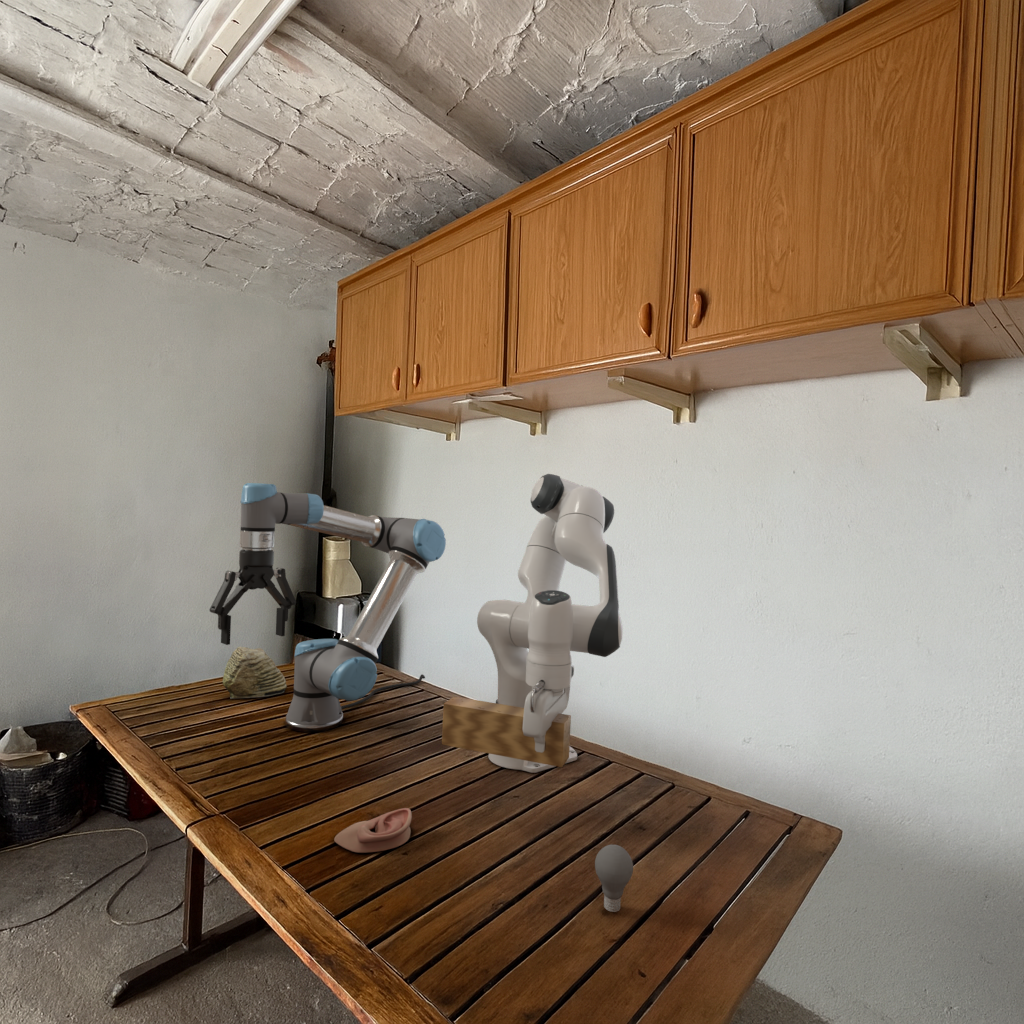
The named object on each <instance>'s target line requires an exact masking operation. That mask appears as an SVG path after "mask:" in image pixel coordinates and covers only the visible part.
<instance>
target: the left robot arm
mask: <svg viewBox="0 0 1024 1024" xmlns="http://www.w3.org/2000/svg"><path fill="white" fill-rule="evenodd" d="M278 524H279V525H280V524H282V525H287V526H291V527H292V526H293V527H296V528H301V529H304V530H308V531H313V532H317V533H322V534H326V535H331V536H335V537H338V538H344V539H348V540H352V541H357V542H360V543H361V544H362V545H363V546H364V547H367V548H371V549H374V550H378V551H381V552H383V553H385V554H388V556H389V562H388V564H387V565H386V567H385V569H384V571H383V572H382V574H381V575H380V577H379V579H378V581H377V583H376V585H375V587H374V589H373V590H372V591H371V594H370V596H369V598H368V599H367V601H366V602H365V605H364V606H363V608H362V610H361V611H360V613H359V615H358V616H357V619H356V621H355V622H354V624H353V625H352V627H351V629H350V631H349V632H348V635H346V636H344V637H343V636H342V637H340V638H339V639H337V638H318V639H308V640H304V641H300V642H299V643H297V644H296V646H295V650H294V655H293V657H294V672H293V673H294V674H293V695H292V696H293V697H292V699H291V702H290V704H289V708H288V711H287V713H286V715H285V726H286V728H287V729H289V730H291V731H294V732H295V731H296V732H301V733H316V732H325V731H329V730H332V729H335V728H337V727H339V726H340V725H342V723H343V722H344V713H343V710H345V709H349V708H353V707H356V706H358V705H360V704H364V703H365V702H366V701H368V700H369V699H371V698H372V697H373V696H374V695H375V694H376V693H378V692H381V691H384V690H389V689H395V688H400V687H401V688H402V687H409V686H415V685H419V684H420V683H421V682H422V680H424V679H426V676H425V675H424V674H423V673H422V674H420V676H419V678H418V679H417V680H415V681H410V682H402V683H396V684H390V685H385V686H381V687H378V688H375V689H374V690H373V688H374V686H375V684H376V682H377V679H378V674H377V672H378V669H377V665H376V664H377V662H378V660H379V655H378V651H377V650H378V648H379V646H380V645H381V642H382V641H383V639H384V637H385V635H386V633H387V632H388V629H389V628H390V625H391V624H392V622H393V620H394V619H395V616H396V615H397V612H398V611H399V609H400V607H401V605H402V603H403V602H404V599H405V598H406V596H407V594H408V592H409V590H410V589H411V586H412V584H413V583H414V581H415V579H416V577H417V576H418V575H419V574H421V573H425V571H426V570H427V567H428V566H429V564H430V563H431V562H435V561H438V560H440V558H441V557H442V556H443V555H444V553H445V550H446V545H447V542H446V541H447V540H446V538H445V532H444V531H445V530H444V529H443V528H442V526H441V525H440V524H439V523H438V522H436V521H434V520H430V519H426V518H420V519H419V518H408V517H390V516H389V517H388V516H387V517H386V516H380V515H376V514H370V515H369V516H366V515H362V514H359V513H355V512H350V511H348V510H343V509H341V508H335V507H333V506H328V505H324V501H323V499H322V498H321V496H320V495H318V494H316V493H308V492H306V493H304V492H303V493H302V492H300V493H299V492H279V491H278V489H277V486H276V484H274V483H261V482H260V483H259V482H246V483H244V484H243V486H242V489H241V499H240V531H239V532H240V533H239V547H240V548H241V549H240V551H239V554H238V557H239V558H238V566H239V569H238V571H232V570H226V571H225V572H224V580H223V581H222V583H221V586H220V588H219V589H218V592H217V593H216V596H215V597H214V599H213V602H212V603H211V606H210V608H209V613H212V614H215V615H217V629H218V630H220V644H223V645H225V646H229V645H231V632H232V631H231V630H232V615H231V614H229V613H230V612H231V611H232V609H234V607H235V606H236V604H237V603H238V602H239V600H240V599H241V598H242V597H243V595H244V594H245V593H247V592H248V591H249V590H251V591H252V590H257V589H259V590H263V589H265V590H266V591H267V592H268V594H269V595H270V596H271V597H272V598H273V599H274V601H275V602H276V604H277V605H278V606H279V607H276V617H275V618H276V619H275V635H276V636H280V637H285V636H286V622H288V620H289V610H290V609H291V608H292V606H295V605H296V604H297V600H296V598H295V595H294V594H293V591H292V589H291V586H290V583H289V581H288V579H287V573H286V569H285V568H283V567H276V568H274V563H275V551H274V550H273V549H274V547H275V533H276V525H278ZM273 577H274V578H275V579H276V581H277V584H278V586H279V589H280V591H281V592H280V591H279V589H278V588H277V587H276V584H275V583H274V582H273V580H272V578H273ZM237 580H239V582H238V583H237V584H236V585H235V583H236V581H237ZM234 585H235V589H233V587H234ZM232 589H233V591H232ZM231 591H232V592H231ZM340 700H343V701H348V702H352V703H348V704H344V705H341V702H340ZM353 701H354V702H353Z"/></svg>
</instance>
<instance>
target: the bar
mask: <svg viewBox="0 0 1024 1024" xmlns="http://www.w3.org/2000/svg"><path fill="white" fill-rule="evenodd" d="M442 709H443V711H442V731H441V732H442V733H441V745H443V746H447V747H452V748H459V749H462V750H469V751H473V752H474V751H475V752H479V753H486V754H488V755H489V754H494V755H500V756H505V757H510V758H516V759H521V760H526V761H531V762H537V763H542V764H547V765H553V766H556V767H558V768H563V767H564V766H565V764H567V763H566V761H567V760H568V758H569V747H571V746H570V745H571V728H572V727H571V723H572V715H571V714H564V713H562V714H558V715H557V716H556V717H555V718H554V720H553V721H552V724H551V727H550V728H549V729H548V730H547V731H546V735H545V741H546V749H545V750H544V752H542V753H541V752H536V751H535V740H534V738H533V737H528V736H525V735H524V734H523V716H524V708H522V707H516V706H510V705H503V704H497V703H496V702H490V701H484V700H478V699H472V698H467V697H458V696H453V697H451V698H450V699H448V700H447V701H445V702H444V703H443V707H442Z"/></svg>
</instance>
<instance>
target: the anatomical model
mask: <svg viewBox="0 0 1024 1024" xmlns="http://www.w3.org/2000/svg"><path fill="white" fill-rule="evenodd" d="M412 819H413V813H412V811H411V809H410V808H408V807H404V808H398V809H395V810H392V811H388V812H385V813H384V814H380V815H379V816H377V817H374V818H372V819H369V820H362V821H358V822H354V823H353V824H351V825H348V826H347V827H346V828H344V829H341V831H340V832H338V833H337V834H336V835H335V837H334V839H333V840H334V842H335V843H336V844H337V845H338V846H339V847H341V848H343V849H346V850H348V851H350V852H353V853H359V854H364V853H376V852H383V851H387V850H391V849H395V848H398V847H399V846H402V845H404V844H405V843H406V842H408V841H409V840H410V838H411V833H412V831H411V827H410V825H411V824H412Z"/></svg>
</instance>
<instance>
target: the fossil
mask: <svg viewBox="0 0 1024 1024" xmlns="http://www.w3.org/2000/svg"><path fill="white" fill-rule="evenodd" d="M222 676H223V677H222V685H223V687H224V688H225V690H226V691H228V693H229V698H230V699H250V698H264V697H271V696H275V695H281V694H284V693H285V691H286V689H287V687H288V686H287V680H286V678H285V676H284V674H283V673H282V672H281V669H279V668H278V667H277V665H276V663H275V662H274V660H273V659H272V658H271V657H270V656H269V655H268V654H267V653H266V652H265V650H264V649H263V648H260V647H258V648H251V647H247V646H246V647H245V646H238V647H237V648H236V649H235V650H233V651H232V653H231V656H230V657H229V659H228V660H227V663H226V666H225V668H224V671H223V675H222Z"/></svg>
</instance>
